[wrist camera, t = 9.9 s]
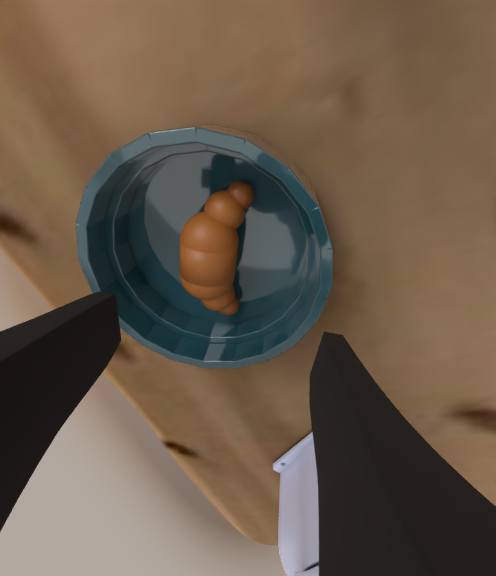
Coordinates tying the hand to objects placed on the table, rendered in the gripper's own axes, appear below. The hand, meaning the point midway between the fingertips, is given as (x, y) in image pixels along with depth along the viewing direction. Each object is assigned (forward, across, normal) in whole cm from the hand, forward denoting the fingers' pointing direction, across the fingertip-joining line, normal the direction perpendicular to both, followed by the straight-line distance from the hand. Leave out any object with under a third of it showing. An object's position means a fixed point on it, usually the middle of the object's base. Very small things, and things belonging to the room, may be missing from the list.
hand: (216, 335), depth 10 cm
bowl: (+9, +2, +1) cm, 10 cm away
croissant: (+9, +2, +1) cm, 9 cm away
